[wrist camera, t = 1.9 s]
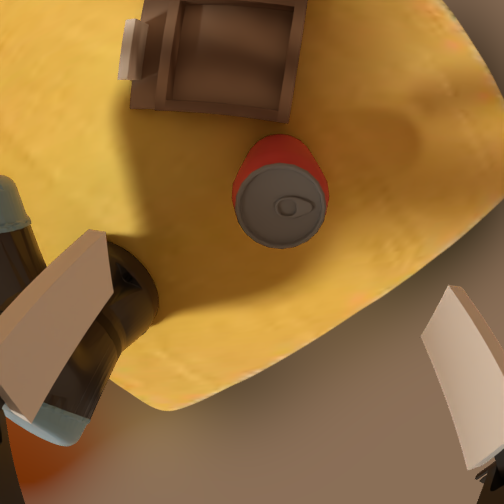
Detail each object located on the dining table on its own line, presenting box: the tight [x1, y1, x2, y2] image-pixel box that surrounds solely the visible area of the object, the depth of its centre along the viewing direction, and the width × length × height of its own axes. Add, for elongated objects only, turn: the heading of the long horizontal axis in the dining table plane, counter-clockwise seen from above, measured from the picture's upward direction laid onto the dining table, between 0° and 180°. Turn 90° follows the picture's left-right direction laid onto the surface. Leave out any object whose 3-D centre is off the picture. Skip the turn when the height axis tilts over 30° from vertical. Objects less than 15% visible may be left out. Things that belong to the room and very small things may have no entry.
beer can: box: [232, 134, 329, 249], centre depth 23 cm, size 7×7×12 cm
